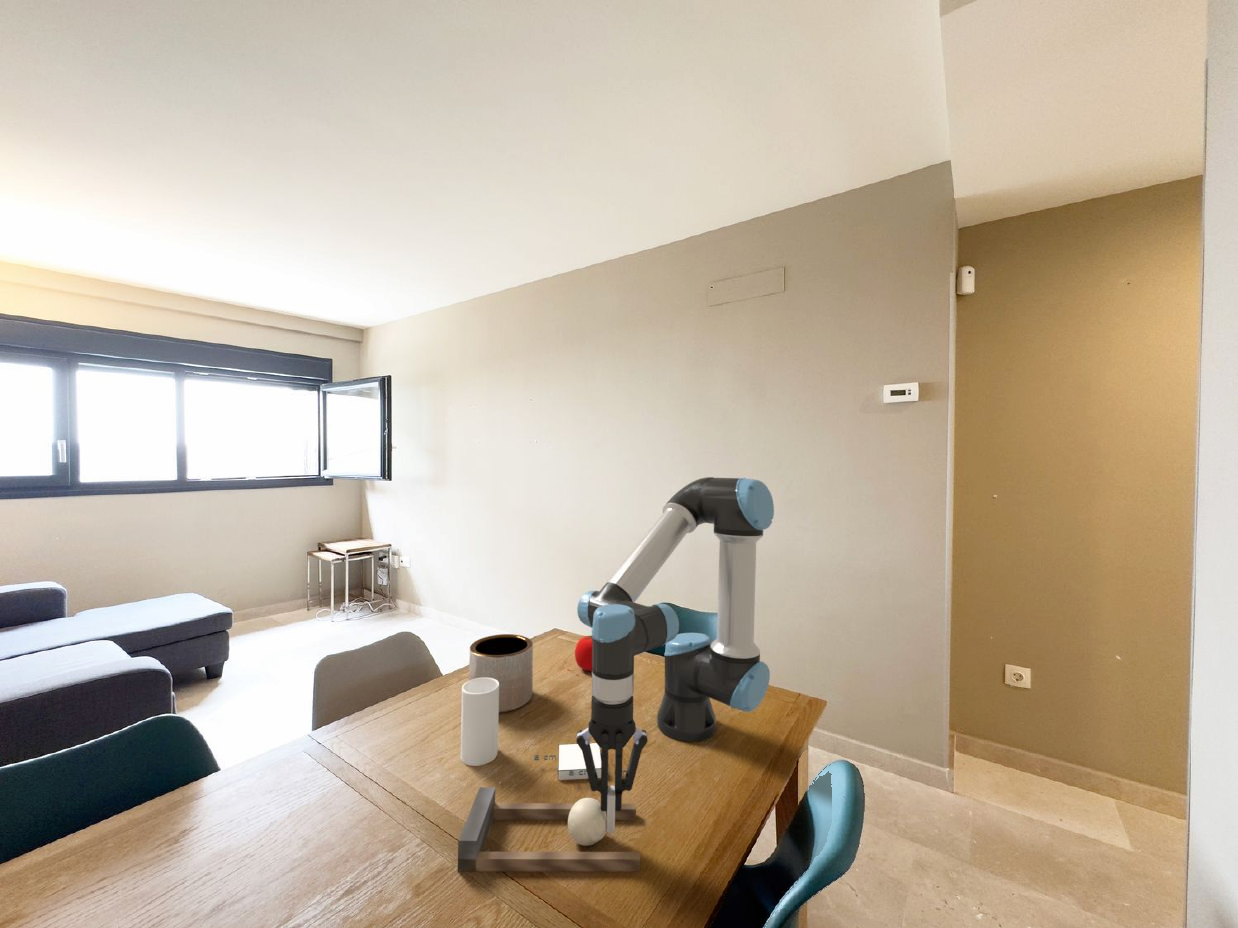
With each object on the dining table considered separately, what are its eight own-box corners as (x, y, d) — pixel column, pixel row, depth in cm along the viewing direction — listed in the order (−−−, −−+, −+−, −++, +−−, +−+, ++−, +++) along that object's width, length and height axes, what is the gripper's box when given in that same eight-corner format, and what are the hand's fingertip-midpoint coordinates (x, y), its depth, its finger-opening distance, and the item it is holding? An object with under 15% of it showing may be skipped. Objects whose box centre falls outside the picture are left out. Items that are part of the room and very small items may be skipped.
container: (622, 751, 112) (622, 740, 112) (628, 783, 101) (628, 771, 101) (535, 755, 110) (535, 744, 110) (531, 789, 99) (532, 776, 99)
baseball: (587, 863, 80) (588, 824, 80) (560, 839, 85) (560, 802, 85) (615, 840, 85) (616, 803, 85) (588, 819, 90) (588, 784, 90)
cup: (487, 768, 105) (488, 695, 105) (453, 762, 106) (454, 691, 106) (503, 746, 113) (505, 679, 113) (471, 742, 114) (473, 675, 114)
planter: (545, 695, 138) (546, 641, 138) (499, 722, 123) (500, 662, 123) (501, 679, 148) (502, 629, 148) (454, 703, 133) (455, 647, 133)
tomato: (594, 678, 150) (595, 644, 150) (568, 670, 156) (569, 637, 156) (613, 667, 159) (613, 634, 159) (587, 659, 164) (588, 628, 164)
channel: (635, 813, 92) (635, 787, 92) (639, 871, 79) (640, 840, 79) (479, 813, 91) (479, 787, 91) (457, 870, 78) (458, 840, 78)
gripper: (646, 685, 89) (645, 811, 89) (577, 685, 89) (575, 812, 88) (650, 704, 82) (648, 843, 81) (575, 705, 81) (573, 844, 81)
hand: (610, 827), depth 85 cm, fingers closed
